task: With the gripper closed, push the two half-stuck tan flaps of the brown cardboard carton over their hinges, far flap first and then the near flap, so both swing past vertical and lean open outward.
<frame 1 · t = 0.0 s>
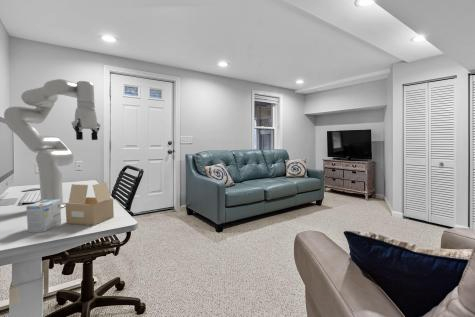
hand: (87, 139, 125), 37 cm above the table, tool pointing down, fingers open, 9 cm apart
flap b: (78, 193, 105), point 13 cm above the table, hinge at 75.0°
light bulb box: (45, 228, 101), on the table
carton: (91, 220, 110), on the table
flap a: (102, 192, 108), point 13 cm above the table, hinge at 75.0°
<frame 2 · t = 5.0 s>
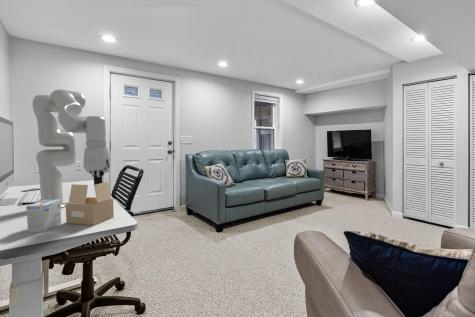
hand: (98, 185, 108), 16 cm above the table, tool pointing down, fingers closed
flap a: (102, 192, 108), point 13 cm above the table, hinge at 80.8°, touching gripper
everything else where it was.
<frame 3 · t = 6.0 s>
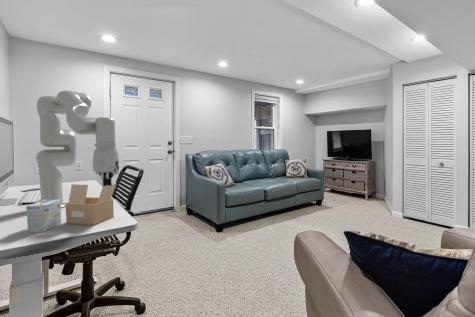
hand: (107, 187, 108), 15 cm above the table, tool pointing down, fingers closed
flap a: (107, 192, 108), point 13 cm above the table, hinge at 113.5°, touching gripper
everything else where it was.
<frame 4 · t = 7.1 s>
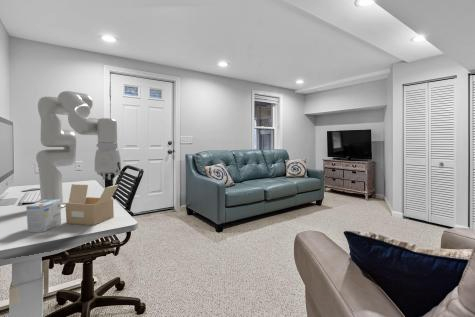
hand: (109, 188, 107), 15 cm above the table, tool pointing down, fingers closed
flap a: (108, 193, 108), point 13 cm above the table, hinge at 122.3°, touching gripper
everything else where it was.
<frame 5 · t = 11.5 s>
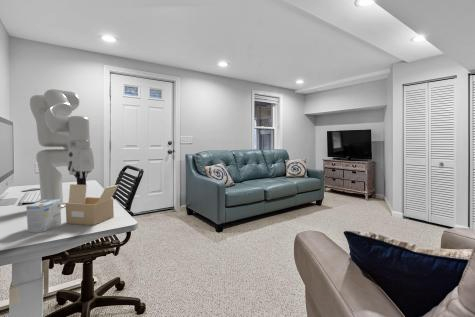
hand: (81, 186, 106), 16 cm above the table, tool pointing down, fingers closed
flap b: (77, 193, 104), point 13 cm above the table, hinge at 80.9°, touching gripper
flap a: (108, 193, 108), point 13 cm above the table, hinge at 122.8°
everything else where it was.
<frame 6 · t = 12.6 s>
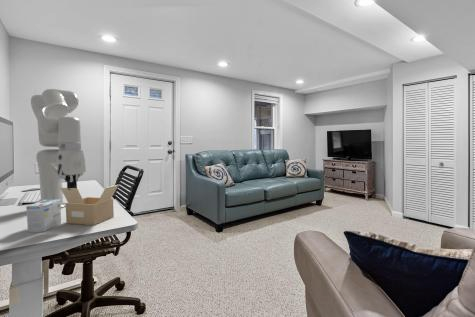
hand: (72, 190, 101), 15 cm above the table, tool pointing down, fingers closed
flap b: (72, 195, 102), point 13 cm above the table, hinge at 115.9°, touching gripper
everything else where it was.
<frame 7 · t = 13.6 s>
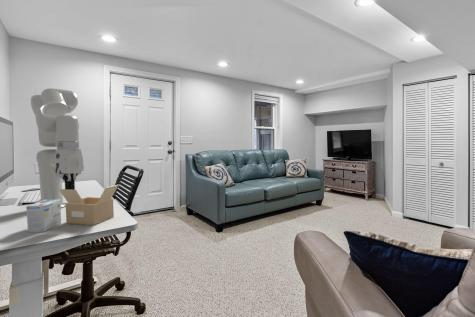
hand: (69, 189, 101), 16 cm above the table, tool pointing down, fingers closed
flap b: (72, 196, 101), point 13 cm above the table, hinge at 122.2°
everything else where it was.
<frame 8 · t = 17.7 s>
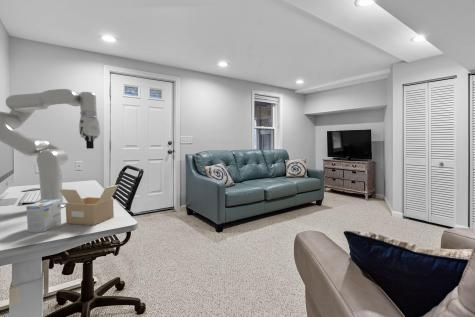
hand: (90, 148, 135), 32 cm above the table, tool pointing down, fingers closed
flap b: (71, 196, 101), point 13 cm above the table, hinge at 122.7°
everything else where it was.
at the end: flap a at +123° (first picture: +75°); flap b at +123° (first picture: +75°) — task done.
